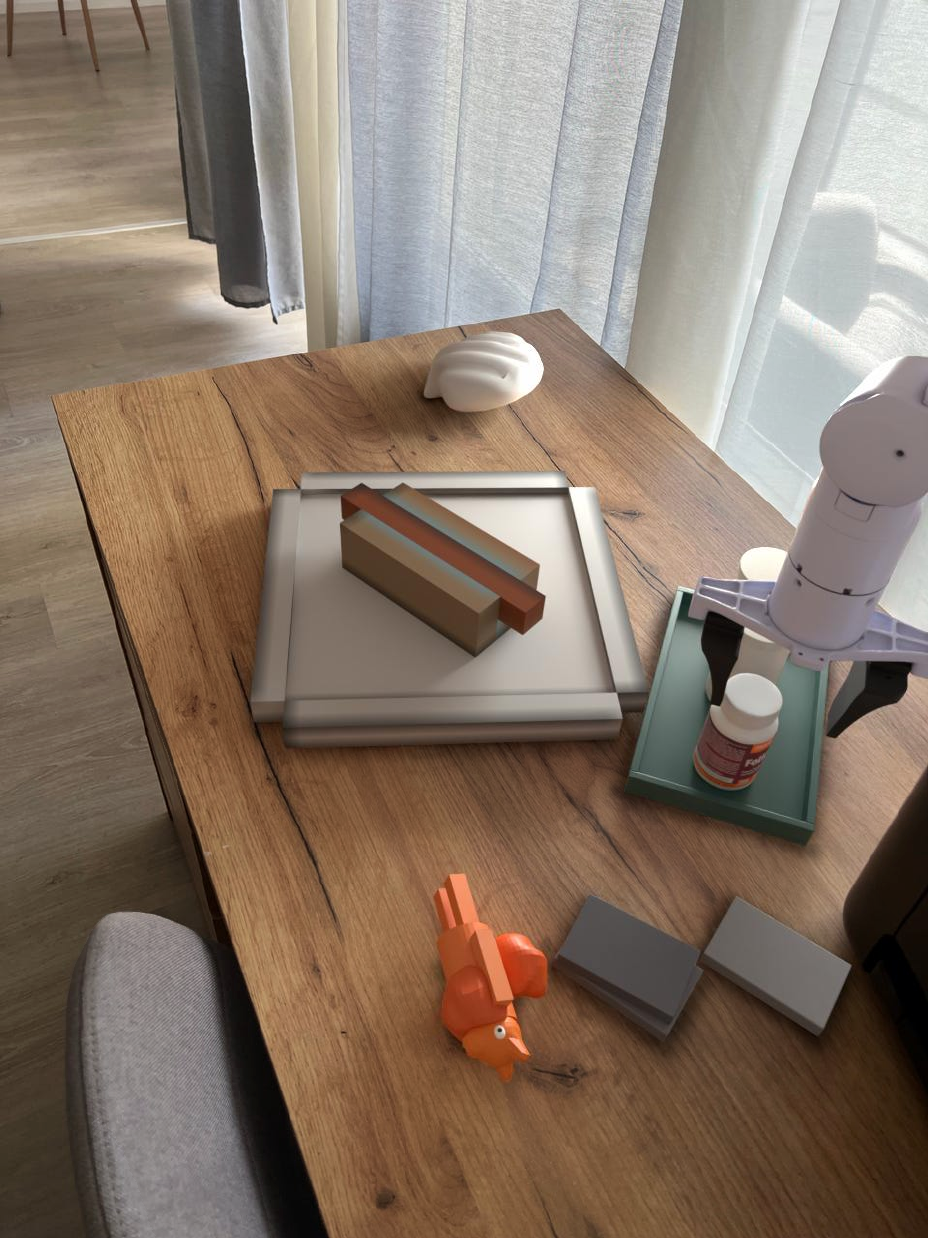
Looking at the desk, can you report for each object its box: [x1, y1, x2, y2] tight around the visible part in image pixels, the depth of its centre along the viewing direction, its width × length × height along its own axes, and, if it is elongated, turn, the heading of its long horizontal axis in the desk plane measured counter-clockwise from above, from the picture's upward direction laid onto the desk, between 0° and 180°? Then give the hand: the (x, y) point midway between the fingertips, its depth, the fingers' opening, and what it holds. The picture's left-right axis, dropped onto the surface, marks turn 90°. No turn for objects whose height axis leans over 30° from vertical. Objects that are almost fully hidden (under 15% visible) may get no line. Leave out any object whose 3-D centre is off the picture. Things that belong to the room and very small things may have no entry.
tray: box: [623, 585, 830, 847], centre depth 75 cm, size 21×13×2 cm, turn 161°
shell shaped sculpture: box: [423, 330, 544, 413], centre depth 103 cm, size 13×13×6 cm
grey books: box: [551, 893, 852, 1043], centre depth 60 cm, size 16×11×2 cm
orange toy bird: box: [432, 873, 548, 1082], centre depth 58 cm, size 5×8×12 cm
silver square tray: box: [249, 470, 650, 749], centre depth 80 cm, size 30×30×8 cm
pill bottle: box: [693, 673, 783, 790], centre depth 69 cm, size 5×5×8 cm
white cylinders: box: [705, 547, 790, 700], centre depth 75 cm, size 11×5×9 cm, turn 161°
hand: (773, 710), depth 64 cm, fingers open, 7 cm apart
